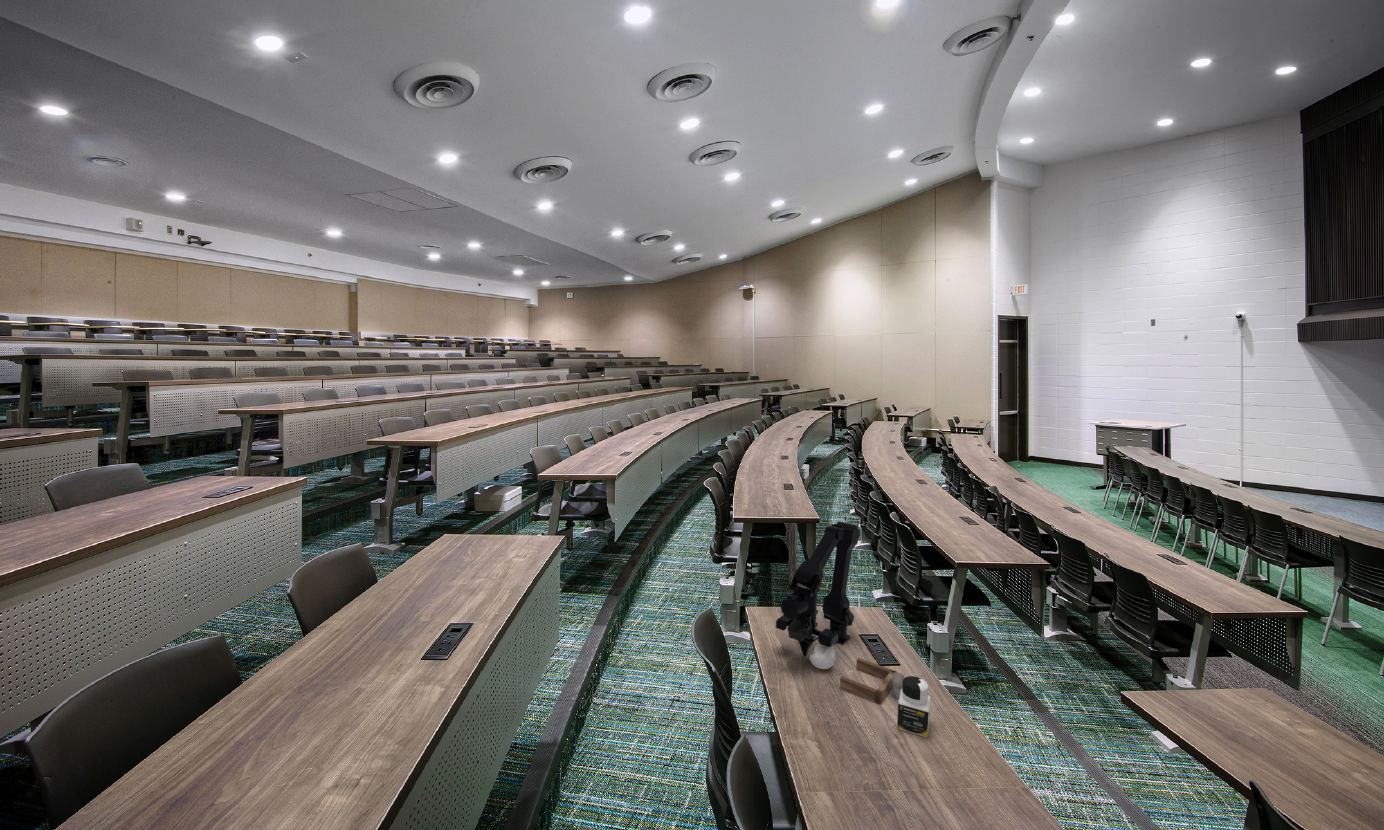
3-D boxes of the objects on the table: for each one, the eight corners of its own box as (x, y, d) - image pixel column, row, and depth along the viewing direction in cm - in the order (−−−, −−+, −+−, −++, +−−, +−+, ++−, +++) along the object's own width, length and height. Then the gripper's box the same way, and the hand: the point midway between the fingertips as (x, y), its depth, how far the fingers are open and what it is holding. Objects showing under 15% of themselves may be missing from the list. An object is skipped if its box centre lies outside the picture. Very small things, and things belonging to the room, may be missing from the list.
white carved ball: (809, 658, 166) (810, 634, 166) (834, 662, 164) (835, 638, 164) (808, 672, 158) (809, 647, 158) (834, 676, 157) (835, 651, 156)
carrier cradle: (858, 667, 162) (858, 648, 161) (910, 686, 152) (911, 666, 152) (839, 688, 151) (840, 668, 150) (895, 710, 141) (896, 689, 141)
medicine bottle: (896, 728, 134) (898, 683, 133) (900, 712, 140) (902, 669, 139) (927, 738, 131) (929, 692, 130) (929, 721, 137) (931, 677, 136)
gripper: (767, 607, 163) (766, 655, 164) (824, 627, 151) (821, 678, 153) (785, 596, 172) (783, 641, 173) (839, 613, 160) (837, 662, 161)
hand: (805, 655), depth 165 cm, fingers closed
